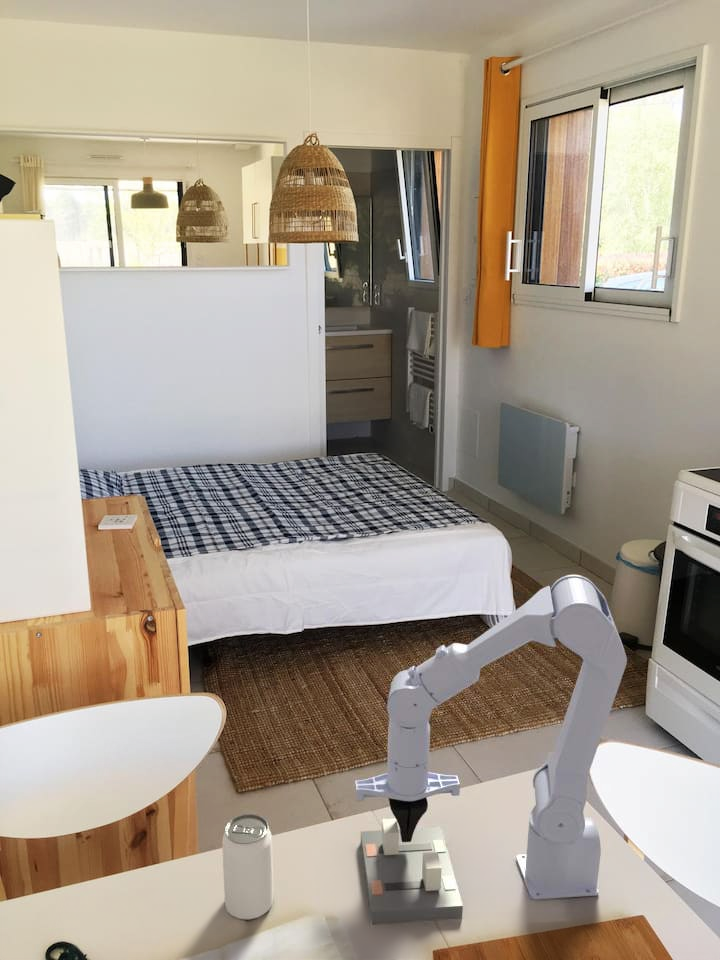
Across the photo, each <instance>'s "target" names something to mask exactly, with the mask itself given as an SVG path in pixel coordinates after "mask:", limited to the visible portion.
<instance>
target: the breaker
mask: <svg viewBox="0 0 720 960" xmlns="http://www.w3.org/2000/svg"><path fill="white" fill-rule="evenodd" d="M441 871H442V867H441V863H440V860H439V856H438V852H423V862H422V876H423V881H424V885H425V890H426V891H433V890H441Z"/></svg>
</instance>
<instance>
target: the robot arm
mask: <svg viewBox="0 0 720 960" xmlns="http://www.w3.org/2000/svg"><path fill="white" fill-rule="evenodd" d="M556 639H558V641H559V642H560V643H561V644H562V645H563V646H565V647H566V648H567V649H569V650H571V651H572V652H573V653H575V654H576V655H578V656H580V657H581V659H582V660H583V661H582V664H581V667H580V671H579V673H578V677H577V680H576V681H575V685H574V688H573V691H572V694H571V697H570V700H569V703H568V707H567V710H566V712H565V715H564V719H563V722H562V725H561V729H560V731H559V734H558V737H557V740H556V744H555V746H554V749H553V752H548V754H547V757H546V759H545V762H544V763H543V764H542V765H541V766H540V767H539V768H537V769H536V771H535V772H534V775H533V777H532V787H533V788H534V797H535V798H534V799H535V805H534V806H533V808H532V810H531V811H530V812H529V813H530V814H529V820H528V831H527V833H528V834H527V842H526V843H527V844H526V854H517V855H516V856H515V857H516V859H515V860H516V862H517V865H518V867H519V871H520V872H521V875H522V878H523V880H524V884H525V886H526V888H527V890H528V894H529V896H530V898H531V899H532V900H546V899H547V900H548V899H561V898H563V899H564V898H574V897H575V898H576V897H591V896H592V897H593V896H594V897H595V896H598V895H599V893H600V891H599V889H598V881H599V872H600V871H599V870H600V864H601V862H600V861H601V855H602V854H601V851H602V848H601V847H602V846H601V840H600V835H599V831H598V827H597V825H596V824H595V821H594V820H593V819H592V818H591V817H587V816H584V809H585V807H586V803H587V794H588V793H587V791H588V780H589V779H588V777H589V773H590V770H591V767H592V765H593V762H594V759H595V755H596V753H597V750H598V747H599V744H600V742H601V738H602V736H603V732H604V730H605V727H606V724H607V721H608V719H609V715H610V713H611V710H612V707H613V705H614V701H615V698H616V695H617V693H618V690H619V687H620V684H621V681H622V678H623V675H624V672H625V670H626V667H627V662H628V657H627V655H626V650H625V648H624V646H623V643H622V639H621V637H620V634H619V632H618V628H617V627H616V624H615V620H614V619H613V616H612V613H611V611H610V608H609V605H608V601H607V599H606V597H605V595H604V594H603V593H602V592H601V590H599V588H598V587H597V585H595V584H594V583H593V582H592V581H591V580H590V579H589V578H587V577H586V576H583V575H580V574H568V575H564V576H562V577H560V578H558V579H557V580H556V581H555V582H554V583H553V584H552V586H551V587H550V585H547V586H545V587H542V588H541V589H539V590H538V591H537V592H536V593H535V594H534V595H532V597H531V598H530V599H528V600H527V601H526V602H525V603H523V604H522V605H521V606H520V607H518V608H516V610H515V611H513V612H511V613H510V614H509V615H507V616H506V617H504V618H503V619H502V620H501V621H499V622H498V623H496V624H495V625H493V626H492V627H490V628H489V629H488V630H486V631H485V632H483V634H481V635H480V636H478V637H477V638H475V639H474V640H472V641H471V642H469V644H465V643H459V642H453V643H452V644H450V645H449V646H447V647H446V646H445V644H443V645H442V644H441V645H440V646H438V648H436V650H435V655H433V656H432V657H430V658H429V659H427V660H425V661H424V662H422V663H421V664H419V665H418V666H415V665H412V666H411V667H409V668H408V669H405V670H401V671H399V672H398V673H397V674H396V675H395V676H393V679H392V681H391V683H390V689H389V693H388V696H387V697H388V698H387V702H386V704H387V705H386V710H387V714H388V717H389V718H388V719H389V723H388V726H387V727H388V728H387V729H388V730H387V772H386V773H383V774H380V775H376V776H373V777H369V778H366V779H359V780H355V781H354V795H355V801H356V802H363V801H365V798H380V797H381V798H385V799H388V801H389V802H388V803H389V808H390V810H391V813H392V815H393V816H394V819H396V821H397V825H398V828H399V829H400V835H401V840H402V842H411V840H412V836H413V833H414V830H415V828H416V827H417V826H418V824H419V822H420V820H421V818H423V816H424V815H425V813H426V812H427V810H428V806H429V804H428V802H429V801H428V799H427V798H428V797H431V796H435V795H438V794H439V795H440V794H451V796H452V797H457V796H460V791H461V790H460V789H461V783H460V780H459V777H458V775H452V774H451V775H449V774H448V775H447V774H441V773H436V772H430V771H429V768H430V767H429V765H430V746H431V745H430V741H431V740H430V739H431V738H430V737H431V724H430V722H429V721H430V718H431V715H432V712H433V710H434V709H435V708H436V707H437V706H440V705H441V704H443V703H445V702H446V701H447V700H449V699H451V698H453V697H454V696H456V695H457V694H459V693H461V692H462V691H464V690H465V689H467V688H469V687H470V686H472V685H473V684H475V683H477V682H478V681H479V680H480V673H481V669H483V667H485V666H487V665H489V664H491V663H493V662H495V661H497V660H498V659H501V658H502V657H504V656H506V655H507V654H509V653H512V652H513V651H515V650H517V649H519V648H521V647H522V646H524V645H526V644H527V643H528V644H529V643H530V642H537V643H539V644H543V645H546V646H548V647H551V648H556V647H557V644H556Z"/></svg>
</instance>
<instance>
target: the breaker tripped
mask: <svg viewBox="0 0 720 960" xmlns="http://www.w3.org/2000/svg"><path fill="white" fill-rule="evenodd" d="M398 829H399V825H398V822H397V820H396V818H382V819H381V830H382V845H383V850H384V855H395V854H398V849H399V831H398Z"/></svg>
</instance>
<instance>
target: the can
mask: <svg viewBox="0 0 720 960" xmlns="http://www.w3.org/2000/svg"><path fill="white" fill-rule="evenodd" d="M221 846H222V867H223V869H222V871H223V872H222V873H223V889H224V890H223V891H224V893H223V894H224V904H225V909H226V911H227V912H228V913H229V914H230V915H231V916H232V917H233V918H234V917H235V918H236V919H238V920H242V921H243V920H244V921H251V920H256V919H258V918H260V917H262V916H263V915H265V914H266V913H267V912H268V911H270V909H271V907H272V905H273V902H274V868H273V867H274V863H273V862H274V860H273V835H272V832H271V829H270V828H269V823H268V821H267V820H266V819H265V818H264V817H263V816H261V815H258V814H254V813H244V814H239V815H237V816H235V817H233V818H232V819H230V820H229V821H228V822H227V824H226V825H225V828H224V834H223V837H222V844H221Z"/></svg>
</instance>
